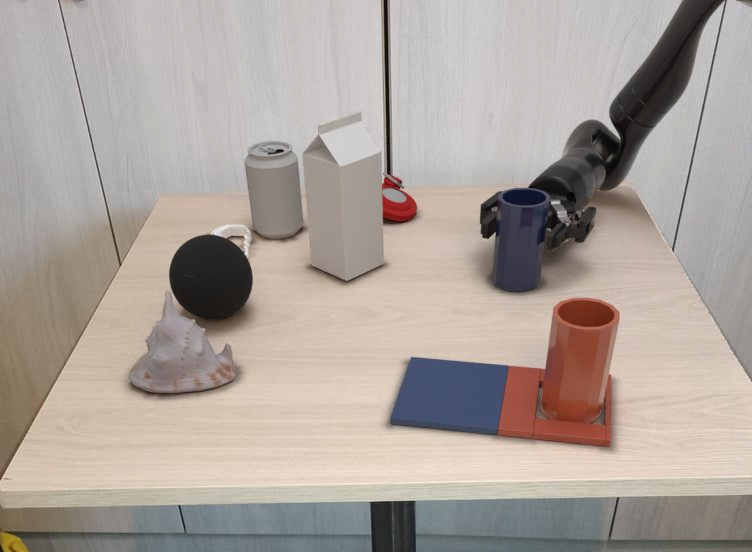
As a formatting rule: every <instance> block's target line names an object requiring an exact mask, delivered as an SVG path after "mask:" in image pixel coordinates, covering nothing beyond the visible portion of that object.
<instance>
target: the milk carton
mask: <svg viewBox="0 0 752 552" xmlns="http://www.w3.org/2000/svg"><path fill="white" fill-rule="evenodd" d="M362 118H363V117H362V111H361V110H360V111H356V112H353V113H350V114H347V115H344V116H341V117H338V118H335V119H331V120H328V121H326V122H322V123H319V124H317V135H316V137H315V138H313V140H312V141H311V142H310V143H309V144H308V146H307V147H306V148H305V150H304V151H303V152H302V153H301V154H302V155H301V156H302V167H303V168H302V170H303V180H304V192H305V204H306V213H307V214H306V215H307V226H308V227H307V228H308V238H309V251H310V262H311V266H312V267H314V268H317V269H318V270H321V271H323V272H325V273H328V274H329V275H332V276H334V277H336V278H339V279H341V280H343V281H345V282H348V281H350V280H353V279H355V278H357V277H359V276H362V275H363V274H365V273H368V272H370V271H372V270H374V269H376V268H378V267H381V266H383V265H384V264H385V263H384V262H385V260H384V259H385V256H384V254H385V253H384V217H383V205H382V184H383V167H382V166H383V164H382V162H383V161H382V150H381V148H380V146H379V145H378V143H377V142H376V140H375V138H374V137H373V135H372V134H371V132H370V131H369V129H368V128H367V126H366V125H365V123H364V121H363V119H362Z"/></svg>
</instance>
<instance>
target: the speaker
mask: <svg viewBox="0 0 752 552" xmlns="http://www.w3.org/2000/svg"><path fill="white" fill-rule="evenodd" d="M244 253H245V252H244V250H242V249H241V247H240V246H238V244H236V243H235V242H233V241H232V240H230V239H229V238H224V237H221V236H217V235H211V234H200V235H196V236H194V237H191V238H189V239H188V240H187V241H185V242H184V243H182V244H181V245H180V246H179V247H178V248H177V250H176V251H175V253H174V255H173V256H172V259H171V261H170V265H169V270H168V273H169V274H168V279H169V280H168V281H169V286H170V289H171V293H172V295H173V297H174V298H175V300H176V301H177V302H178V304H179V305H180V307H182V308H183V309H184V310H185V311H186V312H187V313H189V314H191V315H192V316H194V317H196V318H199V319H202V320H207V321H219V320H224V319H227V318H230V317H231V316H234V315H235V314H237V313H238V312H240V310H241V309H242V308H243V307H244V306H245V305H246V303H247V302H248V300H249V299H250V296H251V294H252V290H253V285H254V284H253V283H254V275H253V269H252V266H251V263H250V261H249V259H247V257H246V255H245V254H244Z"/></svg>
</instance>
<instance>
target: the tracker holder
mask: <svg viewBox="0 0 752 552" xmlns="http://www.w3.org/2000/svg"><path fill="white" fill-rule="evenodd" d="M382 176H384V178H383V182H382V205H383V219H387V220H391V221H395V222H406V221H407V222H408V221H410V220H412V219H414V217H415V216H416V213H417V210H418V205H417V202H416V201H415V199H414V198H413V196H411V195H410V194H409V193H407V192H406V191H404V189H405V186H404V185H403V180H402V179H401V178H400V177H398V176H397V175H396V176H395V175H393V174H388V173H386V171H383V172H382ZM402 189H403V190H402Z"/></svg>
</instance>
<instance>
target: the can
mask: <svg viewBox="0 0 752 552" xmlns="http://www.w3.org/2000/svg"><path fill="white" fill-rule="evenodd" d="M247 153H248V154H247V155H246V157H245V159H244V169H245V177H246V184H247V191H248V199H249V206H250V207H249V208H250V215H251V223H252V227H253V231H255V232H257V233H258V234H259V235H260V236H262V237H264V238H266V239H272V240H273V239H274V240H275V239H277V240H278V239H279V240H280V239H285V238H289V237H291V236H292V237H293V236H294V235H296V234H297V233H298V232H299V230H300V229H302V227H303V226H304V214H303V201H302V190H301V179H300V178H301V177H300V169H299V158H298V155H297V154H296V153H295V152H294V151H293V146H292V144H290V143H289V142H286V141H283V140H264V141H260V142H255V143H253V144H252V145H250V146H249V147H248V148H247Z"/></svg>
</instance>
